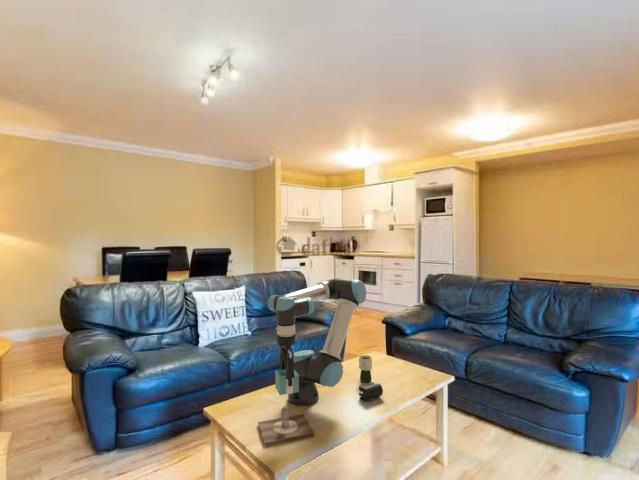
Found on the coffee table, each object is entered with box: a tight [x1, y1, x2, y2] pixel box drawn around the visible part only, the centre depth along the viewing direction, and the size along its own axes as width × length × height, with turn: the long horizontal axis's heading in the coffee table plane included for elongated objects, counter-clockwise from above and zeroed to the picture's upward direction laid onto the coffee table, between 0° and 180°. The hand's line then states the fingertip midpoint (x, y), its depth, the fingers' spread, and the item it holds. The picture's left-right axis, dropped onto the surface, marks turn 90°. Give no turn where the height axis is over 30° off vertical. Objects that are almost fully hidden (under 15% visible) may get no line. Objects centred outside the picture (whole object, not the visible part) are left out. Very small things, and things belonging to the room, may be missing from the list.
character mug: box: [358, 354, 373, 383], centre depth 196 cm, size 11×7×13 cm, turn 137°
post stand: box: [257, 406, 315, 447], centre depth 148 cm, size 16×20×10 cm
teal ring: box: [274, 369, 299, 396], centre depth 148 cm, size 8×8×7 cm
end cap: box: [358, 381, 384, 403], centre depth 175 cm, size 10×7×7 cm
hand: (286, 388), depth 148 cm, fingers closed on teal ring, 8 cm apart
